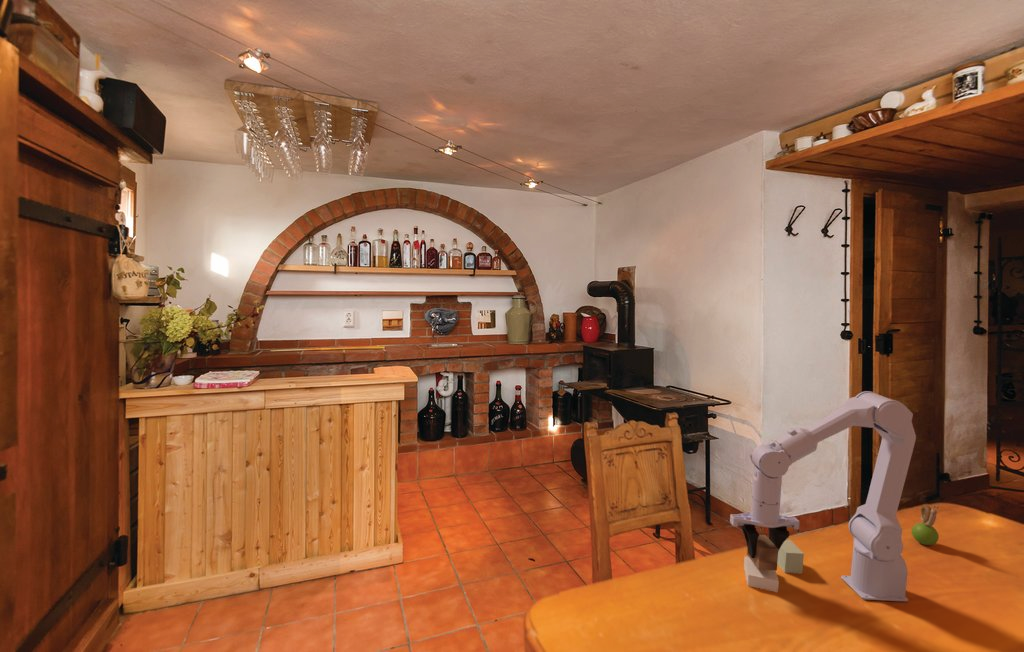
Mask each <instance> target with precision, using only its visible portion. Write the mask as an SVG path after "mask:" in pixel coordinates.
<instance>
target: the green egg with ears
mask: <svg viewBox="0 0 1024 652" xmlns="http://www.w3.org/2000/svg"><path fill="white" fill-rule="evenodd" d="M935 508H936V509H935ZM938 509H939V506H938V505H936V506H935V505H932V508H931V507H930V506H929V505H928V504H923V505H922V506H921V507H920V520H921V522H918V523H915V524H914V525H913V526H912V528H911V534H912V537H913V538H914V540H915V541H916V542H918V543H919V544H922V545H925V546H932V545H935V544H936V543H938V541H939V539H940V538H939V537H940V536H939V532H938V531H937V529H936V528H935V527H934V524H935V522H936V519H937V514H938Z"/></svg>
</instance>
